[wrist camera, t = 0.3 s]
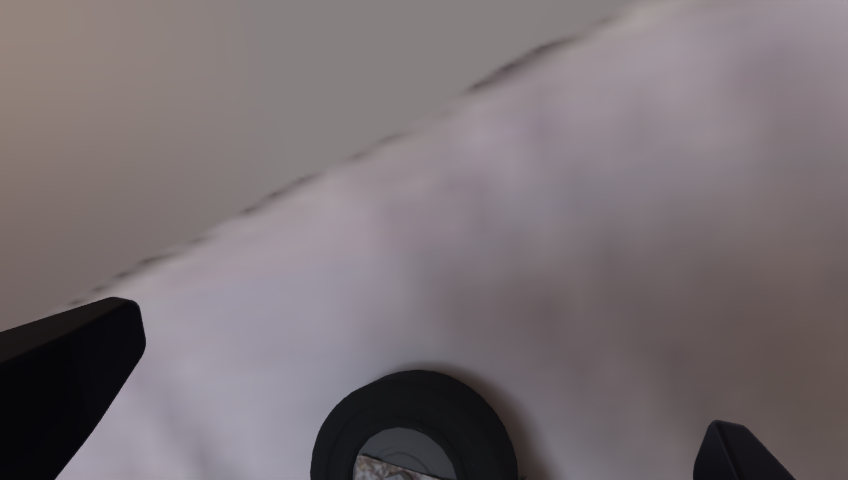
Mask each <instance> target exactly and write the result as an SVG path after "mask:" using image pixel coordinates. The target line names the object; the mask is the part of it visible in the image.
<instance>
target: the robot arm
mask: <svg viewBox="0 0 848 480" xmlns="http://www.w3.org/2000/svg"><path fill="white" fill-rule="evenodd" d="M145 347H146V338H145V332H144V327H143V322H142V316H141V311H140V307H139V305H138V304H137V303H136V302H135V301H133V300H129V299H124V298H119V297H109V298H105V299H102V300H99V301H96V302H93V303H90V304H87V305H84V306H80V307H77V308H74V309H71V310H68V311H65V312H62V313H59V314H55V315H52V316H49V317H46V318H43V319H40V320H37V321H34V322H31V323H27V324H24V325H21V326H18V327H15V328H12V329H9V330H6V331H2V332H0V480H55V479H56V478H57V476H58V475H59V474H60V473H61V471H62V470H63V469H64V468H65V466H66V465H67V464H68V463H69V461H70V460H71V459H72V457H73V456H74V455H75V454H76V452H77V451H78V450H79V449H80V447H81V446H82V445H83V444H84V442H85V441H86V440H87V438H88V437H89V436H90V434H91V433H92V432H93V430H94V429H95V427H96V426H97V424H98V423H99V422H100V420H101V419H102V417H103V416H104V414H105V413H106V411H107V409H108V408H109V406H110V405H111V403H112V402H113V400H114V399H115V397H116V396H117V394H118V393H119V391H120V389H121V388H122V386H123V385H124V383H125V382H126V380H127V379H128V377H129V376H130V374H131V373H132V371H133V369H134V368H135V366H136V365H137V363H138V362H139V360H140V359H141V357H142V355H143V353H144V351H145ZM693 480H796V479H795V478H794V477H793V476H792V475H791V474H790V473H789V472H788V471H787V470H786V469H785V468H784V466H783V465H782V464H781V463H780V462H779V461H778V460H777V459H776V458H775V457H774V456H773V455H772V454H771V453H770V452H769V451H768V450H767V448H766V447H765V446H764V445H763V444H762V443H761V442H760V441H759V440H758V439H757V438H756V437H755V436H754V435H753V434H752V433H751V431H750V430H749V429H747V428H746V427H745V426H743V425H740V424H736V423H731V422H726V421H721V420H715V421H712V422H711V423H710V425H709V426H708V428H707V431H706V434H705V436H704V439H703V442H702V444H701V447H700V450H699V452H698V455H697V457H696V460H695V464H694V470H693Z"/></svg>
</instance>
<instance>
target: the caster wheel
mask: <svg viewBox="0 0 848 480" xmlns="http://www.w3.org/2000/svg"><path fill="white" fill-rule="evenodd" d="M310 478H311V480H526V477H524V476H522V475H519V474H518V470H517V461H516V457H515V453H514V449H513V445H512V443H511V441H510V438H509V436H508V433H507V431H506V429H505V426H504V425H503V423H502V422H501V420H500V419H499V417H498V416H497V414H496V413H495V411H494V410H493V409H492V408H491V406H490V405H489V404H488V403H487V402H486V401H485V400H484V399H483V398H482V397H481V396H480V395H479V394H477V393H476V392H475V391H474V390H472V389H471V388H470V387H468V386H467V385H465V384H463V383H461V382H460V381H458V380H456V379H454V378H452V377H450V376H447V375H443V374H440V373H436V372H430V371H421V370H413V371H404V372H397V373H394V374H391V375H387V376H385V377H382V378H380V379H378V380H376V381H374V382H372V383H370V384H368V385H366V386H364V387H362V388H359V389H357V390H355V391H353V392H352V393H350V394H349V395H348V396H347V397H345V398H344V399H343V400H342V401H341V402H340V403H339V404H337V405H336V406H335V408H334V409H333V410H332V411H331V412H330V414H329V415H328V417H327V418H326V420H325V421H324V423H323V424H322V426H321V428H320V431H319V433H318V435H317V439H316V442H315V445H314V449H313V453H312V461H311V469H310Z"/></svg>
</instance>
